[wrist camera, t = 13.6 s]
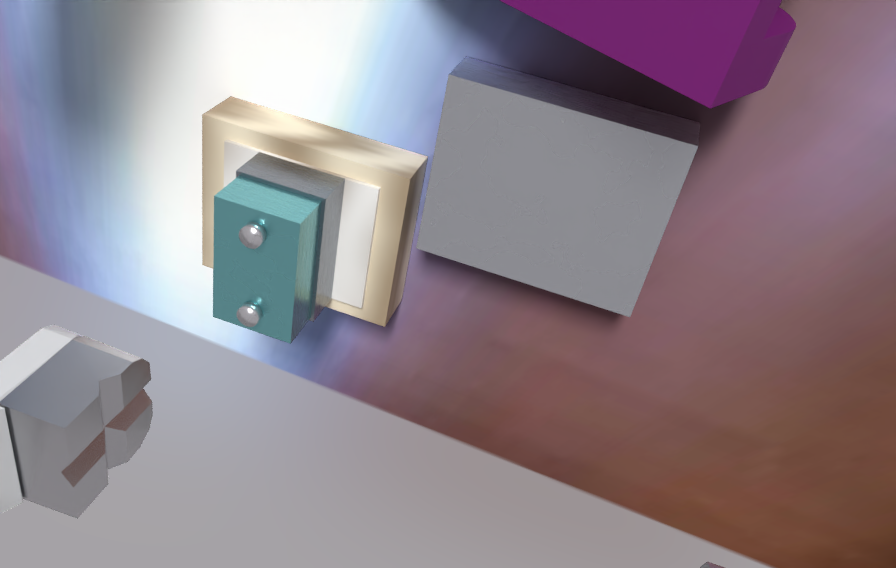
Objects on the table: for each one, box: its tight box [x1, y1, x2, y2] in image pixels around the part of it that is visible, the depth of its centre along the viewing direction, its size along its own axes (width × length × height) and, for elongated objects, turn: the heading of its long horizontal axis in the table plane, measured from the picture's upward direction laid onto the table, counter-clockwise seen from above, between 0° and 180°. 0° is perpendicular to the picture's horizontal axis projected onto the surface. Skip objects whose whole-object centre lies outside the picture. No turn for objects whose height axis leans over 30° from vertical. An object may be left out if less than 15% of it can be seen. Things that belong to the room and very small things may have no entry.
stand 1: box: [202, 97, 428, 327], centre depth 46 cm, size 12×10×3 cm
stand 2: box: [416, 56, 700, 317], centre depth 41 cm, size 12×10×3 cm
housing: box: [213, 152, 345, 344], centre depth 42 cm, size 5×8×6 cm, turn 170°
